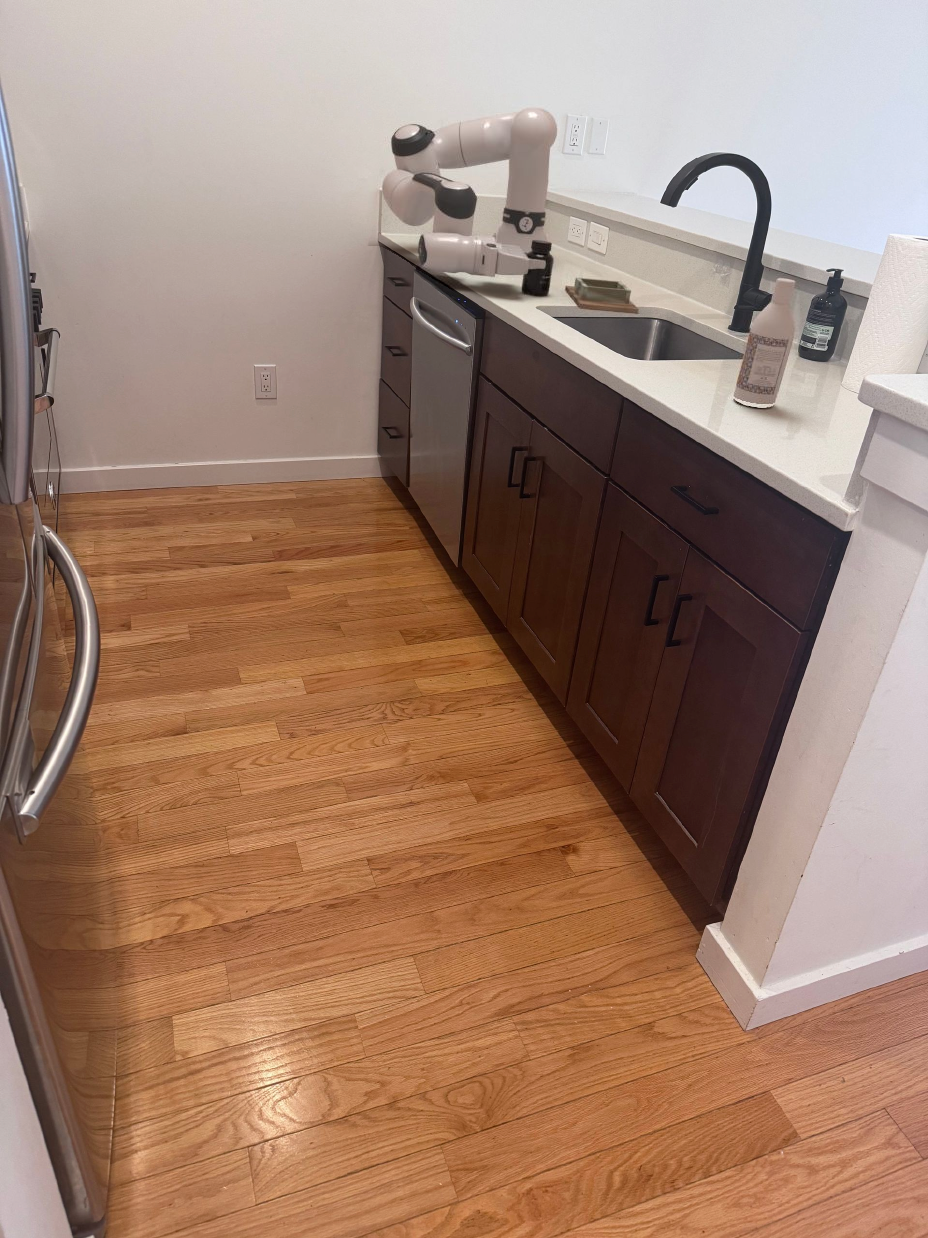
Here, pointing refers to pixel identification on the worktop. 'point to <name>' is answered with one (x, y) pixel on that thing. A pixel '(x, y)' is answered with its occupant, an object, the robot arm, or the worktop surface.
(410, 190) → the robot arm
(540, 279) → the supplement bottle
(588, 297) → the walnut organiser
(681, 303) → the worktop surface
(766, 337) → the bath foam
